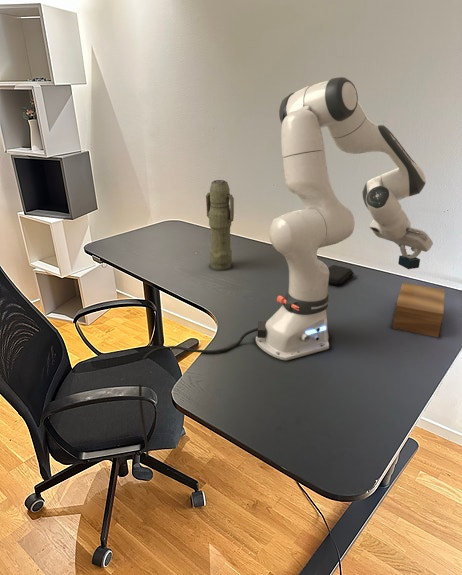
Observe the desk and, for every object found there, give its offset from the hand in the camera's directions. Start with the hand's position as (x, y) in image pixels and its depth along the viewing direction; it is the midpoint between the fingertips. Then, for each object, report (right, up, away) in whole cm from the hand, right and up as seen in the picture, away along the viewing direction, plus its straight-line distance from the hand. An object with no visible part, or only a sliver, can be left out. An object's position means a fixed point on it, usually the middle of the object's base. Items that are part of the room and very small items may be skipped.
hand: (408, 247), depth 151 cm
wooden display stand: (-2, -24, -11) cm, 26 cm away
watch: (+1, -6, +3) cm, 7 cm away
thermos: (-66, -5, +31) cm, 73 cm away
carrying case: (-21, -11, +18) cm, 30 cm away
